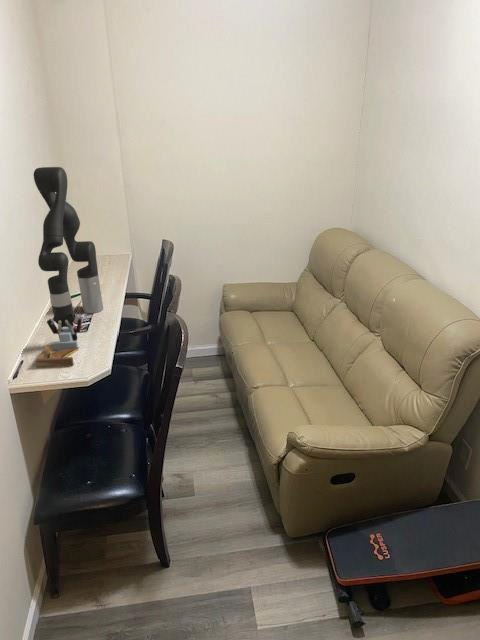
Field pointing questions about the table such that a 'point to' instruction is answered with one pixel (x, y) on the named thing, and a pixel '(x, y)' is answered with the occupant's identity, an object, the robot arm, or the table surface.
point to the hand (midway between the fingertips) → (68, 341)
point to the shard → (63, 353)
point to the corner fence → (52, 359)
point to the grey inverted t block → (65, 340)
